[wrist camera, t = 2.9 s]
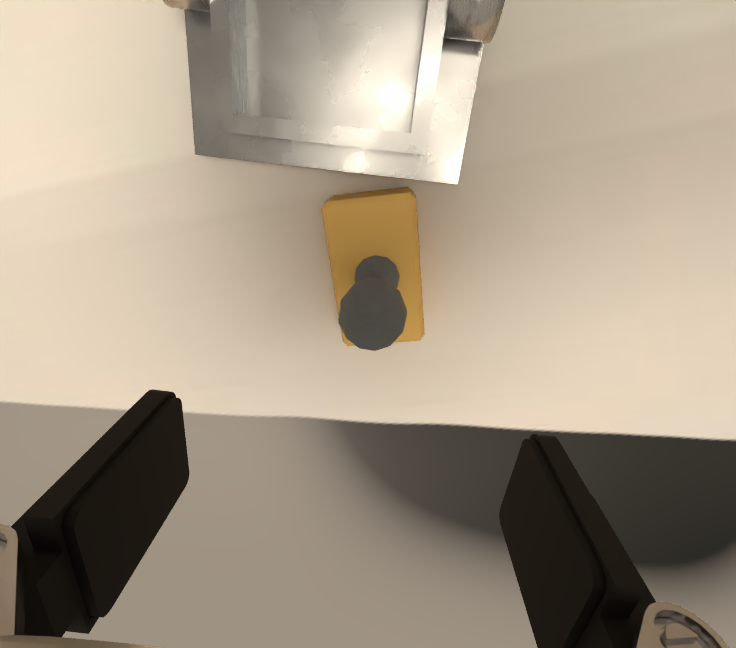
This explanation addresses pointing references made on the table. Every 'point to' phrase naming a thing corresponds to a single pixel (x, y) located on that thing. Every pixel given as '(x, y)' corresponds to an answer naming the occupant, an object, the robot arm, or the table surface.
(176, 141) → the table surface
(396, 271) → the rubber stamp
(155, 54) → the table surface
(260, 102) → the grey metal square tray
